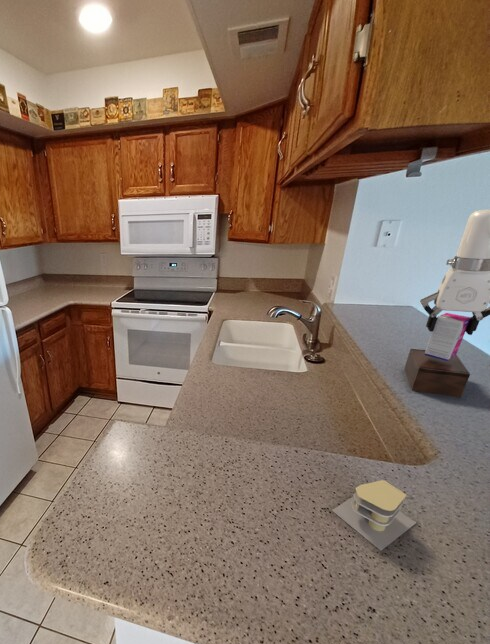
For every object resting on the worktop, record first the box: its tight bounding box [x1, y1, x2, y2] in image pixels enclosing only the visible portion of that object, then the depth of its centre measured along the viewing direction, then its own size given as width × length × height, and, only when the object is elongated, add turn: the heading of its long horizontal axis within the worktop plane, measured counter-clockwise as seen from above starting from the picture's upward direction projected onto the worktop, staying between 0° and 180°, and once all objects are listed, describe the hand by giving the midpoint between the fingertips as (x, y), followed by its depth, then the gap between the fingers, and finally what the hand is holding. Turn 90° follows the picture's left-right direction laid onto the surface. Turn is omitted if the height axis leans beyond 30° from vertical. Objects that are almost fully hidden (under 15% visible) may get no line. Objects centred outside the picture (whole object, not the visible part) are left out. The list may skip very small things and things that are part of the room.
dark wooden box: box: [403, 348, 471, 398], centre depth 95 cm, size 11×14×7 cm
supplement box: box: [424, 312, 472, 361], centre depth 90 cm, size 6×6×12 cm
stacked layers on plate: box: [331, 479, 417, 551], centre depth 56 cm, size 10×9×6 cm
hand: (448, 331), depth 89 cm, fingers closed on supplement box, 7 cm apart
